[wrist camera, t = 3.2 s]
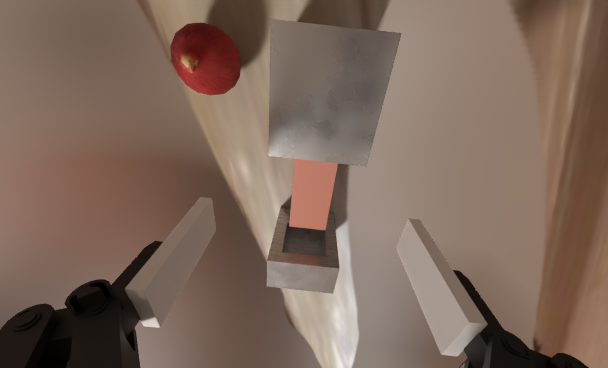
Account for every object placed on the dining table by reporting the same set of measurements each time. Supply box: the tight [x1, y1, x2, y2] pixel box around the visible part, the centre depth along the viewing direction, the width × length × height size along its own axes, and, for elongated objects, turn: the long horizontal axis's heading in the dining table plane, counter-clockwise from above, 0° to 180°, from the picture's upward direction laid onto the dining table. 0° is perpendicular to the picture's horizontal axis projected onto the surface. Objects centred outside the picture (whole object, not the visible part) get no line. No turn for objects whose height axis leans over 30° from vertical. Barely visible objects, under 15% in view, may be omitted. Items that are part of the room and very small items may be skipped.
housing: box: [269, 19, 401, 166], centre depth 20 cm, size 9×8×10 cm
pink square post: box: [289, 159, 338, 230], centre depth 21 cm, size 18×4×4 cm, turn 175°
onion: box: [170, 23, 241, 95], centre depth 20 cm, size 6×6×8 cm
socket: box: [267, 207, 339, 293], centre depth 30 cm, size 4×8×10 cm, turn 84°
